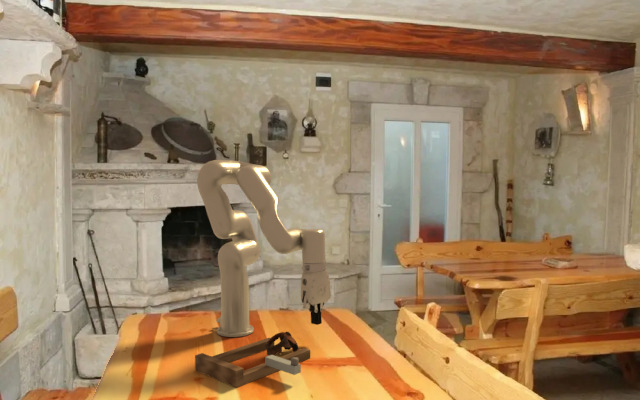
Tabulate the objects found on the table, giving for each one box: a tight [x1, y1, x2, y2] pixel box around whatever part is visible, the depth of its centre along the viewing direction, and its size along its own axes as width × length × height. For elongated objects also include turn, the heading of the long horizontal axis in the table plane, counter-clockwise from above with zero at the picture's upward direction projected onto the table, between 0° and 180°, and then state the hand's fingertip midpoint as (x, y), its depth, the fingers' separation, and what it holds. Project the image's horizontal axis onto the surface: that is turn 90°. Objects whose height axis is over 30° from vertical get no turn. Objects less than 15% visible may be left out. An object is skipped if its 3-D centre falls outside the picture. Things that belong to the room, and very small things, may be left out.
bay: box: [194, 337, 311, 388], centre depth 153 cm, size 18×28×4 cm, turn 139°
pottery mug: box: [266, 331, 300, 356], centre depth 160 cm, size 12×10×8 cm
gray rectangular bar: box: [264, 355, 302, 376], centre depth 142 cm, size 11×2×4 cm, turn 49°
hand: (316, 323), depth 172 cm, fingers closed
